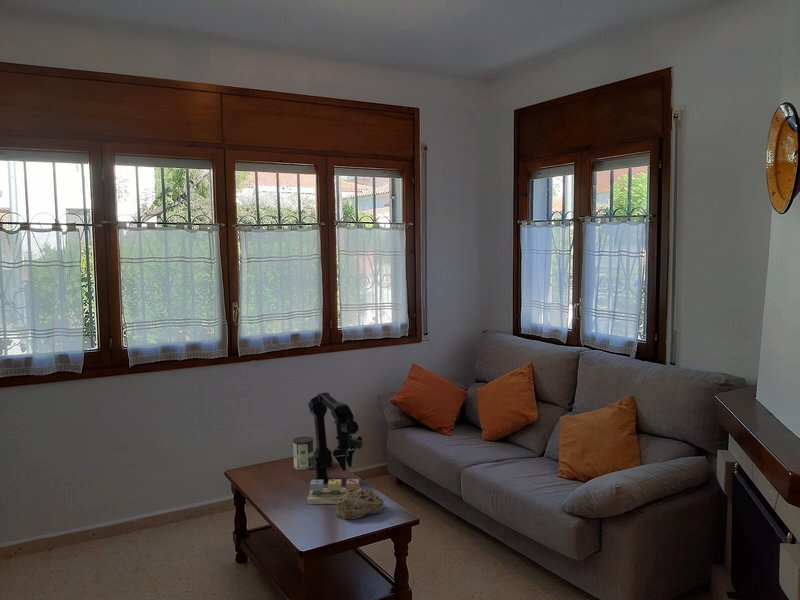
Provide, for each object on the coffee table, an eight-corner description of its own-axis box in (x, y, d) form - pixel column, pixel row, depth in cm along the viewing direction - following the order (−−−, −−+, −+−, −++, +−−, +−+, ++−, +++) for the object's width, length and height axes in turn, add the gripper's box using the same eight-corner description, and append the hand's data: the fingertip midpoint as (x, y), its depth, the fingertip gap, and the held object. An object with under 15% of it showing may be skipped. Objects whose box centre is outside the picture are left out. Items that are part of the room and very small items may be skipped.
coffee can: (309, 461, 341) (308, 435, 339) (317, 467, 332) (316, 440, 331) (290, 465, 335) (289, 438, 334) (298, 471, 326) (297, 443, 325)
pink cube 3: (347, 491, 293) (347, 478, 292) (359, 491, 293) (359, 478, 292) (346, 496, 287) (345, 483, 287) (358, 496, 287) (358, 483, 287)
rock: (369, 503, 287) (373, 483, 285) (386, 521, 275) (390, 501, 273) (328, 509, 275) (332, 488, 273) (343, 529, 264) (347, 507, 261)
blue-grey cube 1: (311, 492, 293) (311, 479, 293) (324, 491, 293) (323, 479, 292) (310, 496, 288) (309, 483, 287) (322, 496, 287) (322, 483, 287)
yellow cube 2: (329, 491, 293) (329, 479, 292) (341, 491, 293) (341, 478, 292) (328, 496, 287) (327, 483, 287) (340, 496, 287) (340, 483, 287)
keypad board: (311, 493, 296) (311, 488, 296) (361, 492, 296) (361, 487, 296) (307, 504, 285) (307, 498, 284) (359, 503, 284) (359, 497, 284)
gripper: (355, 434, 279) (359, 471, 277) (365, 428, 297) (370, 463, 296) (330, 437, 281) (334, 473, 279) (342, 431, 299) (346, 465, 298)
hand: (347, 468), depth 288 cm, fingers open, 9 cm apart
